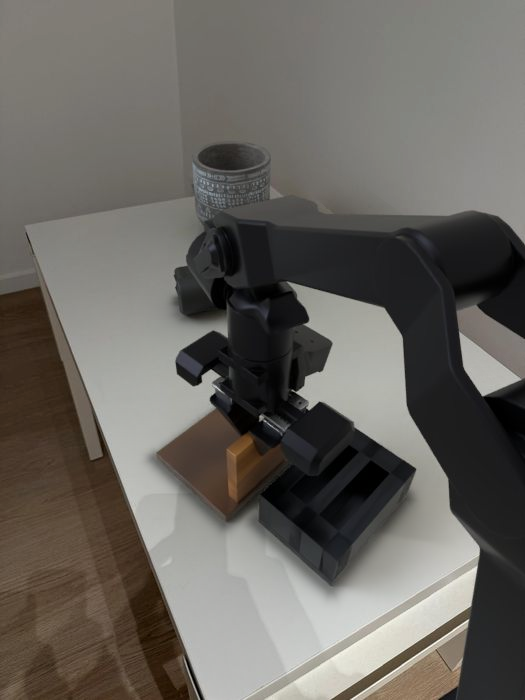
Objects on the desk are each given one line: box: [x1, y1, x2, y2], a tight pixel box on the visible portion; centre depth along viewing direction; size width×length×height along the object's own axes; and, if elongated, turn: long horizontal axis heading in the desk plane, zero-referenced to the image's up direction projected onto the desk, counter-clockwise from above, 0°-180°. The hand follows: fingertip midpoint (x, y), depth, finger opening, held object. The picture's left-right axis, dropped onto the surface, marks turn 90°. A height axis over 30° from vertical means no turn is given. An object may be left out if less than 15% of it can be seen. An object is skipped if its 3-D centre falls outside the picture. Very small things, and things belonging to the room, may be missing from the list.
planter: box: [191, 140, 272, 227], centre depth 97 cm, size 14×14×15 cm
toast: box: [226, 431, 285, 503], centre depth 56 cm, size 1×8×8 cm, turn 137°
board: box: [155, 408, 292, 523], centre depth 62 cm, size 12×12×1 cm
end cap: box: [173, 265, 218, 316], centre depth 82 cm, size 10×7×7 cm
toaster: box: [258, 426, 418, 587], centre depth 56 cm, size 10×15×6 cm, turn 137°
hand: (258, 448), depth 55 cm, fingers closed on toast
